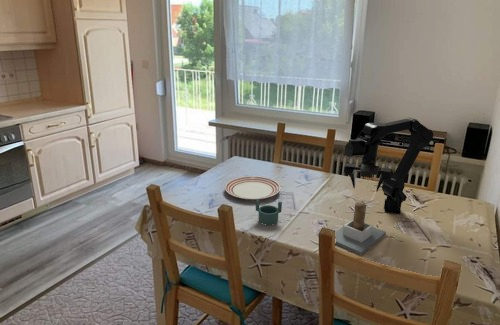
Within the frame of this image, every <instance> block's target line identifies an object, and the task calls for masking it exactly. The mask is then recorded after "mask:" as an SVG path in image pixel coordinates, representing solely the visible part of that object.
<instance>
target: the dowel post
mask: <svg viewBox="0 0 500 325" xmlns="http://www.w3.org/2000/svg"><path fill="white" fill-rule="evenodd" d="M366 210H367V204H365V203H363V202H356V203H355V204H354V211H353V218H352V219H353V228H354V229H357V230H360V231H363V228H364V222H365V219H366V218H365V217H366V212H367V211H366Z"/></svg>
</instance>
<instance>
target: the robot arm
mask: <svg viewBox="0 0 500 325" xmlns="http://www.w3.org/2000/svg"><path fill="white" fill-rule="evenodd" d="M403 131H408V132H409V133H410V135H409V139H408V140H409V141H408V142H409V145H408V147H407V148H406V150H405V151H404V152H405V153H404V155H403V156H402V157H401V160H400V161H399V163H398V165H397V167H396V169H395V171H394V172H393V169H392V168H389V167H382V168H381V169H380V165H377V158H378V150H379V145H383V144H384V142H383V141H382V140H381V139H383V138H385V137H386V136H387V135H389V134H395V133H399V132H403ZM434 137H435V136H434V131H433V129H431V128H428V127H426V126H425V125H424V124H422V123H421V122H420V121H419V120H418V119H415V118H412V117H406V118H403V119H399V120H394V121H389V122H383V123H379V122H368V123H365V124H364V126H363V128H362V129H361V131H360V132H359V133H358V135H357V136H356V138H355V139H348V142H347V143H346V144H345V146H344V153H345V156H347V157H349V158H351V157H361V163H360V166H356V163H350V162H348V163H347V162H346V163H345V165H344V167H343V174H346V175H347V176H349V177H350V180H351V183H352V187H353V189H355V188H356V172H359V177H361V178H369V179H372V178H374V177H373V176H375V175H379V178H378V182H377V184H376V185H377V186H376V191H375V192H378V191H379V189H380V188H381V191H382V193H383V195H384V196H385V197H386V198H384V203H383V210H384V213H388V214H395V215H399V216H400V215H401V210H402V209H401V208H402V203H403V202H406V200H407V199H408V198H407V197H408V196H407V195H406V194H405V193H404V192H403V191H404V189H405V180H406V177H407V176H408V174H409V172H410V171H411V168H412V166H413V165H414V163H415V162H416V160H417V158H418V156H419V154H420V152H421V150H423V149H424V148H427V146H429V144H430V143H431V141H432V140H433V139H434Z"/></svg>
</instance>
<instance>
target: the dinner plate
mask: <svg viewBox="0 0 500 325" xmlns="http://www.w3.org/2000/svg"><path fill="white" fill-rule="evenodd" d="M281 189H282V188H281V185H280V183H279V182H278V181H276V180H274V179H272V178H269V177H266V176H265V177H264V176H258V175H257V176H256V175H255V176H253V175H250V176H249V175H248V176H240V177H237V178H233V179H231V180H229V181H228V182H227V183H226V184H225V186H224V190H225V191H226V193H228V195H230V196H232V197H234V198H239V199H243V200H249V201H250V200H252V201H253V200H254V201H256V200H263V199H267V198H271V197H273V196H276V195H277V194H278V193H279V192H280V191H281Z"/></svg>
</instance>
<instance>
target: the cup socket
mask: <svg viewBox="0 0 500 325" xmlns="http://www.w3.org/2000/svg"><path fill="white" fill-rule="evenodd" d="M353 219H354V218H352V219H351V220H349V221H348V222H347V223H345V224H343V226H342V227H340V228H339V229H338V230H336V231H335V232H334V233H336V244H335V245H337V246H338V247H339V246H340V247H342V248H344V249H345V250H349V251H350V252H353V253H355V254H358V255H359V256H362V255H363V254H364V253H366V252H367V251H368V250H369V249H371V247H373V246H374V245H375V244H377V242H379V241H380V240H382V239H383V238H384V237H385V236H386V235H387V231H385V230H383V229H380V228H377V227H374V225H373V224H372V223H371V224H370V223H368V222H365V221H364V228H363V231H360V230H357V229H354V228H353Z"/></svg>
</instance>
